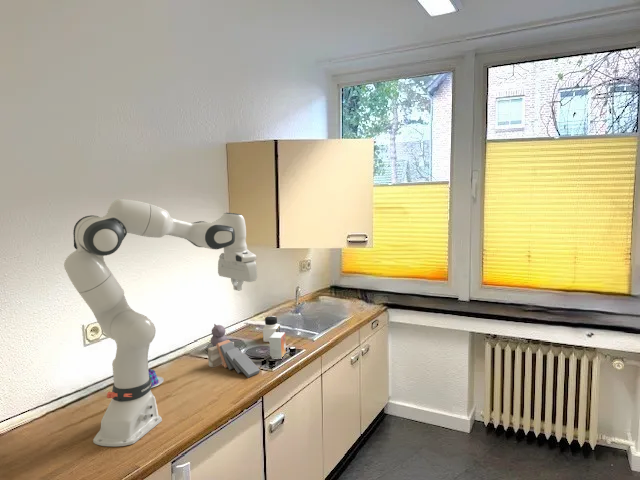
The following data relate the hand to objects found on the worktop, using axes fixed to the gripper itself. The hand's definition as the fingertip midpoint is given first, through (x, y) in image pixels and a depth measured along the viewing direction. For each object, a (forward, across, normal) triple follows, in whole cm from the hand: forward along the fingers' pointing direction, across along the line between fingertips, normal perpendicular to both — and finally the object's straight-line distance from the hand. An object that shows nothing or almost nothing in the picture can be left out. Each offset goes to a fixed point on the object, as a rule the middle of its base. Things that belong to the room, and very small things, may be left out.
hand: (237, 290), depth 173 cm
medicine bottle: (+39, -30, +43) cm, 65 cm away
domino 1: (+39, -16, +9) cm, 43 cm away
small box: (+39, -11, +29) cm, 50 cm away
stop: (+39, -26, +9) cm, 48 cm away
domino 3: (+38, -4, +9) cm, 39 cm away
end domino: (+39, -19, +9) cm, 44 cm away
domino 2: (+38, -10, +9) cm, 41 cm away
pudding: (+40, -33, -23) cm, 56 cm away
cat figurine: (+39, -41, +18) cm, 59 cm away
